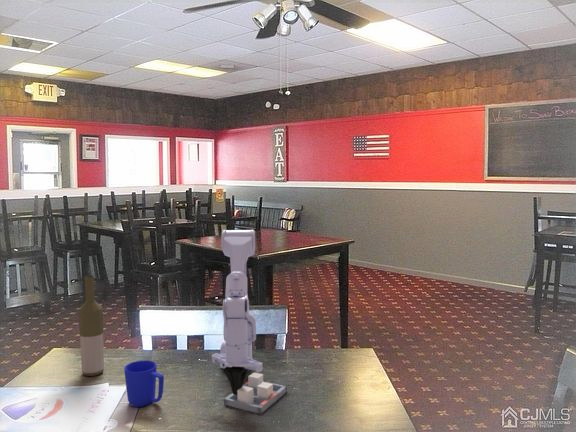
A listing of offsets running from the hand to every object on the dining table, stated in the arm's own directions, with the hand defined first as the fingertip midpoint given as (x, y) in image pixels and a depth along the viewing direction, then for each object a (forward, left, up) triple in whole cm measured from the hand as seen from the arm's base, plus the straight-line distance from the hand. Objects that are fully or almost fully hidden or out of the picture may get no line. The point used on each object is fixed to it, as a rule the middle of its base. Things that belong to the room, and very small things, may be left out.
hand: (237, 393), depth 130 cm
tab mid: (+6, +4, -2) cm, 8 cm away
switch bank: (+3, +4, -3) cm, 6 cm away
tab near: (+3, 0, -2) cm, 4 cm away
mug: (-22, -10, -4) cm, 24 cm away
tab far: (0, +9, -2) cm, 9 cm away
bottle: (-51, -2, -4) cm, 51 cm away
